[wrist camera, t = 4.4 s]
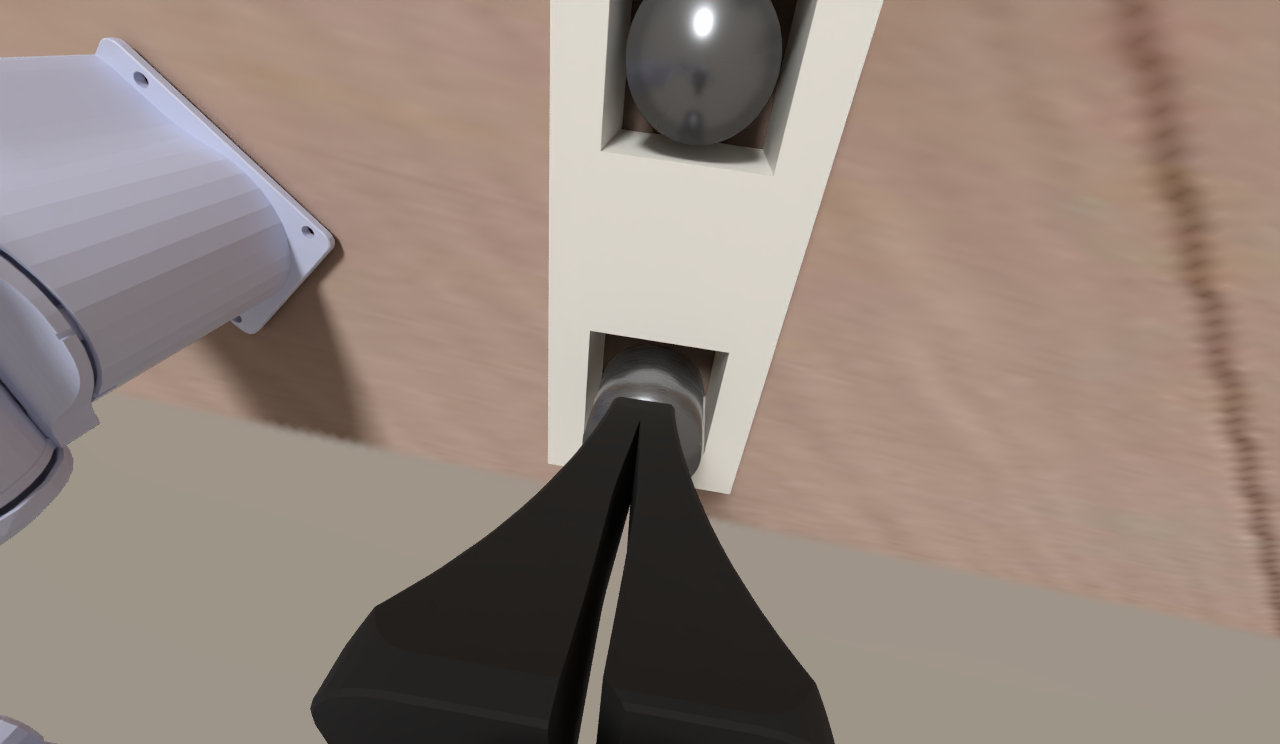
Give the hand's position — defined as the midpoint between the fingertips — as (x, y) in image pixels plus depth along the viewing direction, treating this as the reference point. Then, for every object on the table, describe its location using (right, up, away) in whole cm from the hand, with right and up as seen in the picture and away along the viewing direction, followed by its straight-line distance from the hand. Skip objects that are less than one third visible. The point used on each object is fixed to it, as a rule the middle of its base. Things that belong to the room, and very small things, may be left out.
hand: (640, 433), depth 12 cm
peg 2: (0, +1, +8) cm, 8 cm away
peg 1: (+2, +11, +4) cm, 12 cm away
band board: (+2, +7, +8) cm, 11 cm away
